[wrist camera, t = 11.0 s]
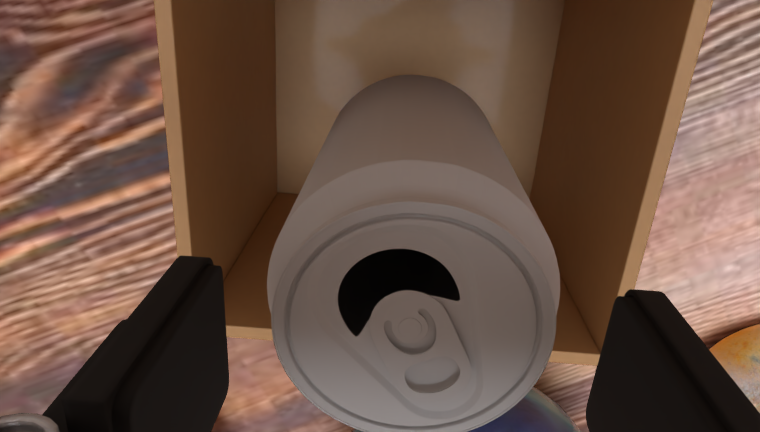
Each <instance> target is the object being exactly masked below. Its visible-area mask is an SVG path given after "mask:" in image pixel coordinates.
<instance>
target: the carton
mask: <svg viewBox="0 0 760 432" xmlns="http://www.w3.org/2000/svg"><path fill="white" fill-rule="evenodd" d="M712 3H713V0H154V8H155V19H156V29H157V40H158V51H159V62H160V72H161V83H162V94H163V105H164V116H165V126H166V137H167V148H168V159H169V169H170V180H171V191H172V202H173V213H174V223H175V234H176V245H177V256H178V257H179V256H196V257H209V258H211V259H212V261H213V264H214V265H216V266H221V268H222V272H223V286H224V302H225V319H226V336H227V337H234V338H247V339H260V340H273V336H272V326H271V312H270V308H269V304H268V294H267V276H268V268H269V262H270V258H271V254H272V251H273V248H274V245H275V243H276V240H277V238H278V236H279V234H280V232H281V230H282V228H283V226H284V224H285V222H286V220H287V218H288V215H289V213H290V211H291V209H292V207H293V205H294V203H295V201H296V199H297V197H298V195H299V193H300V191H301V189H302V187H303V185H304V183H305V181H306V179H307V177H308V175H309V173H310V171H311V169H312V167H313V165H314V163H315V160H316V158H317V156H318V154H319V152H320V150H321V148H322V146H323V144H324V142H325V140H326V138H327V136H328V134H329V132H330V130H331V128H332V126H333V124H334V122H335V120H336V118H337V116H338V115H339V113H340V112H341V110H342V109H343V107H344V106H345V105H346V104H347V103H348V102H349V100H350V99H352V98H353V97H354V96H355V95H356V94H357V93H359V92H360V91H361V90H363V89H364V88H366V87H368V86H369V85H371V84H373V83H375V82H378V81H380V80H383V79H386V78H389V77H394V76H399V75H422V76H429V77H435V78H438V79H441V80H443V81H446V82H448V83H451V84H452V85H454V86H456V87H457V88H459V89H461V90H462V91H464V92H465V93H466V94H467V95H468V96H469V97H471V98H472V99H473V100H474V101H475V102H476V104H477V105H478V106H479V107H480V109H481V110H482V111H483V113H484V114H485V116H486V118H487V120H488V122H489V124H490V126H491V127H492V129H493V131H494V133H495V135H496V137H497V139H498V141H499V143H500V145H501V147H502V148H503V150H504V152H505V154H506V156H507V158H508V160H509V162H510V164H511V166H512V168H513V169H514V171H515V173H516V175H517V177H518V179H519V181H520V183H521V185H522V187H523V189H524V190H525V192H526V194H527V196H528V198H529V200H530V202H531V204H532V206H533V208H534V210H535V211H536V213H537V215H538V217H539V219H540V221H541V223H542V225H543V227H544V229H545V231H546V233H547V235H548V237H549V239H550V241H551V243H552V246H553V248H554V251H555V255H556V258H557V263H558V267H559V275H560V298H559V306H558V310H557V315H556V335H555V341H554V345H553V349H552V352H551V355H550V358H549V361H548V362H555V363H568V364H580V365H593V366H597V365H598V361H599V358H600V354H601V350H602V346H603V342H604V339H605V335H606V331H607V327H608V323H609V320H610V316H611V312H612V308H613V304H614V301H615V299H616V298H617V297H618V296H624V295H625V293H626V292H627V291H628V290H630V289H633V290H634V288H635V284H636V281H637V277H638V273H639V270H640V266H641V262H642V259H643V255H644V251H645V248H646V244H647V240H648V237H649V233H650V230H651V226H652V222H653V219H654V215H655V211H656V208H657V204H658V200H659V197H660V193H661V189H662V186H663V182H664V178H665V175H666V171H667V168H668V164H669V160H670V157H671V153H672V149H673V146H674V142H675V138H676V135H677V131H678V127H679V124H680V120H681V116H682V113H683V109H684V106H685V102H686V98H687V95H688V91H689V87H690V84H691V80H692V76H693V73H694V69H695V65H696V62H697V58H698V54H699V51H700V47H701V44H702V40H703V36H704V33H705V29H706V25H707V22H708V18H709V14H710V11H711V7H712Z"/></svg>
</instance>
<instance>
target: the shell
mask: <svg viewBox="0 0 760 432" xmlns="http://www.w3.org/2000/svg"><path fill="white" fill-rule="evenodd" d="M709 350H710V352H711V353H712V354H713V355H714V357H715V358H716V359H717V360H718V362H719V363H720V364H721V365H722V367H723V368H724V369H725V370H726V372H727V373H728V374H729V375H730V377H731V378H732V379H733V380H734V382H735V383H736V384H737V385H738V387H739V388H740V389H741V390H742V392H743V393H744V394H745V395H746V397H747V398H748V399H749V400H750V402H751V403H752V404H753V405H754V407H755V408H756V409H757V410H758V412H759V413H760V324H757V325H754V326H751V327H748V328H745V329H742V330H740V331H738V332H736V333H734V334H732V335H730V336H728V337H726V338H724V339H722V340H721V341H719V342H718V343H717V344H715V345H714V346H713V347H711V348H710V349H709Z"/></svg>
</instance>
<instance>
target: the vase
mask: <svg viewBox="0 0 760 432" xmlns="http://www.w3.org/2000/svg"><path fill="white" fill-rule="evenodd" d="M352 432H363V431H360V430H358V429H355V428H354V429H353V431H352ZM467 432H581V431H580V429H579V428H578V427H577V426H576V424H575V423H574V422H573V421H572V419H571V418H570V417H569V416H568V415H567V414H566V413H565V411H564V410H563V409H562V408H561V407H560V406H559V405H558V404H557V403H555V402H554V401H553V400H552V399H550V398H549V397H548V396H546V395H545V394H544V393H542V392H541V391H540V390H538V389H537V388H535V387H534V386H533V387H532V389H531V390H530V391H529V392H528V393H527V394H526V395H525V396H524V397H523V398H522V399H521V400H520V401H519V402H518V403H517V404H516V405H515V406H513V407H512V408H511V409H510V410H508V411H507V412H506V413H504V414H503V415H501V416H500V417H498V418H496V419H494V420H493V421H491V422H489V423H487V424H485V425H483V426H481V427H478V428H475V429H473V430H470V431H467Z"/></svg>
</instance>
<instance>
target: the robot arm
mask: <svg viewBox="0 0 760 432" xmlns="http://www.w3.org/2000/svg"><path fill="white" fill-rule="evenodd" d="M228 386H229V370H228V353H227V336H226V319H225V302H224V286H223V272H222V268H221V266H216V265H214V264H213V261H212V259H211V258H209V257H196V256H179V257H178V258H177V259H176V260H175V262H174V263H173V264H172V265H171V266H170V268H169V269H168V270H167V271H166V273H165V274H164V275H163V276H162V277H161V279H160V280H159V281H158V282H157V283H156V285H155V286H154V287H153V288H152V290H151V291H150V292H149V293H148V294H147V296H146V297H145V298H144V299H143V301H142V302H141V303H140V304H139V305H138V307H137V308H136V309H135V310H134V312H133V313H132V314H131V315H130V316H129V318H128V319H126V320H122V321H121V322H120V323H119V324H118V325H117V326H116V327H115V328H114V329H113V331H112V332H111V333H110V334H109V335H108V337H107V338H106V339H105V340H104V341H103V343H102V344H101V345H100V346H99V347H98V349H97V350H96V351H95V352H94V353H93V355H92V356H91V357H90V358H89V359H88V361H87V362H86V363H85V364H84V365H83V367H82V368H81V369H80V370H79V371H78V373H77V374H76V375H75V376H74V377H73V379H72V380H71V381H70V382H69V383H68V385H67V386H66V387H65V388H64V389H63V391H62V392H61V393H60V394H59V395H58V397H57V398H56V399H55V400H54V401H53V403H52V404H51V405H50V406H49V407H48V409H47V410H46V411H45V412H44V413H43V415H40V414H32V413H19V414H12V415H5V416H1V417H0V432H211V430H212V428H213V426H214V423H215V421H216V419H217V416H218V414H219V412H220V410H221V407H222V405H223V403H224V400H225V398H226V395H227V391H228ZM586 421H587V426H588V429H589V431H590V432H760V413H759V412H758V410H757V409H756V408H755V407H754V405H753V404H752V403H751V402H750V400H749V399H748V398H747V397H746V395H745V394H744V393H743V392H742V390H741V389H740V388H739V387H738V385H737V384H736V383H735V382H734V380H733V379H732V378H731V377H730V375H729V374H728V373H727V372H726V370H725V369H724V368H723V367H722V365H721V364H720V363H719V362H718V360H717V359H716V358H715V357H714V355H713V354H712V353H711V352H710V350H709V349H708V348H707V347H706V345H705V344H704V343H703V342H702V340H701V339H700V338H699V337H698V335H697V334H696V333H695V332H694V330H693V329H692V328H691V327H690V325H689V324H688V323H687V322H686V320H685V319H684V318H683V317H682V315H681V314H680V313H679V312H678V310H677V309H676V308H675V307H674V305H673V304H672V303H671V302H670V300H669V299H668V298H667V297H666V295H665V294H664V293H662V292H659V291H646V290H633V289H630V290H628V291H627V292H626V293H625V295H624V296H618V297H617V298H616V299H615V301H614V304H613V308H612V312H611V316H610V320H609V323H608V327H607V331H606V335H605V339H604V342H603V346H602V350H601V354H600V358H599V361H598V365H597V369H596V373H595V377H594V380H593V384H592V388H591V392H590V396H589V399H588V403H587V408H586Z"/></svg>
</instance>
